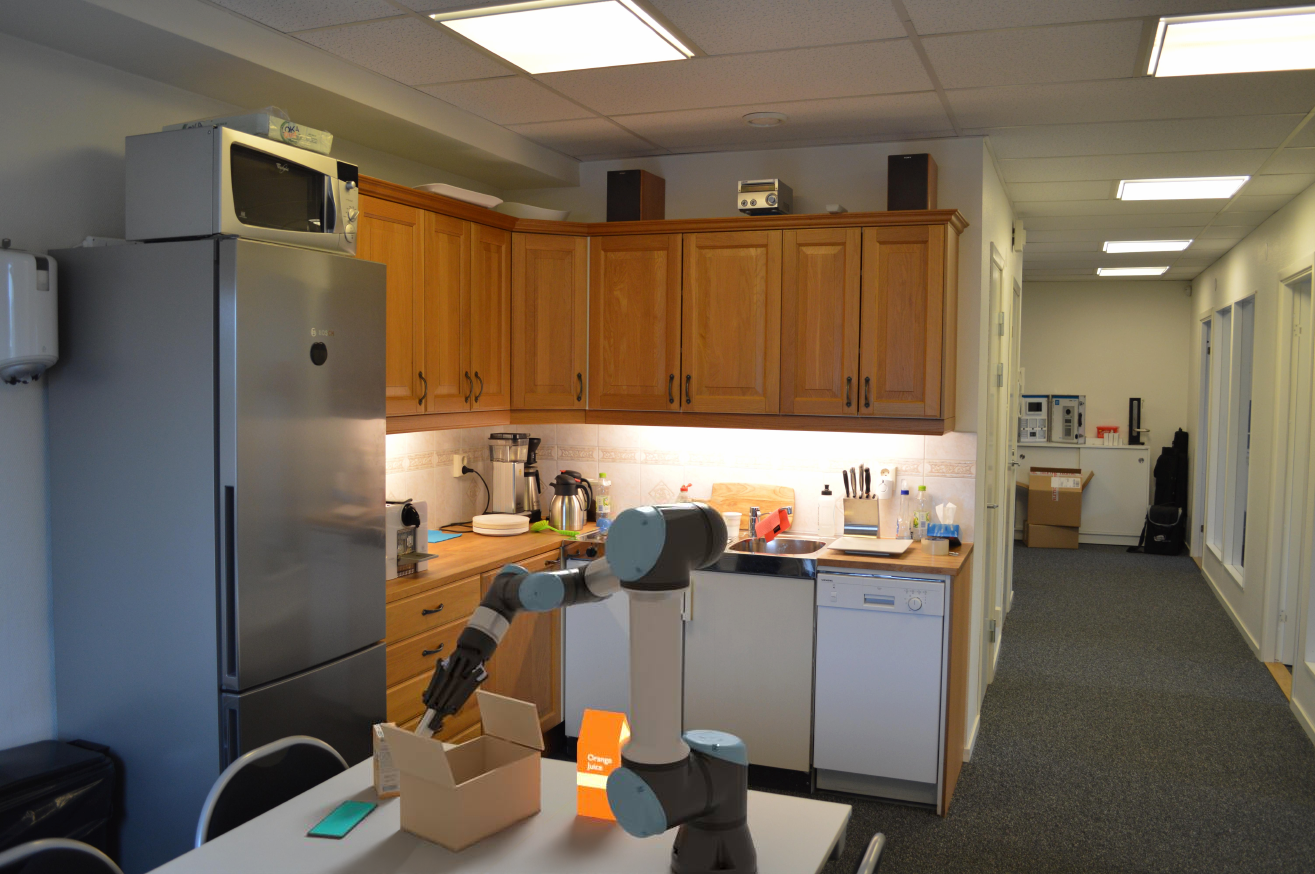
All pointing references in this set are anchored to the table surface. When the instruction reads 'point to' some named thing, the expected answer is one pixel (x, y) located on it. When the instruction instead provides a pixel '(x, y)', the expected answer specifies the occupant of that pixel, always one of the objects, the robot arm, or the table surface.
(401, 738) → the left flap
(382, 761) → the supplement box
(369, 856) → the table surface
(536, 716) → the right flap
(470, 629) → the robot arm
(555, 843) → the table surface
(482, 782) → the carton
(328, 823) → the smartphone
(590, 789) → the orange juice
